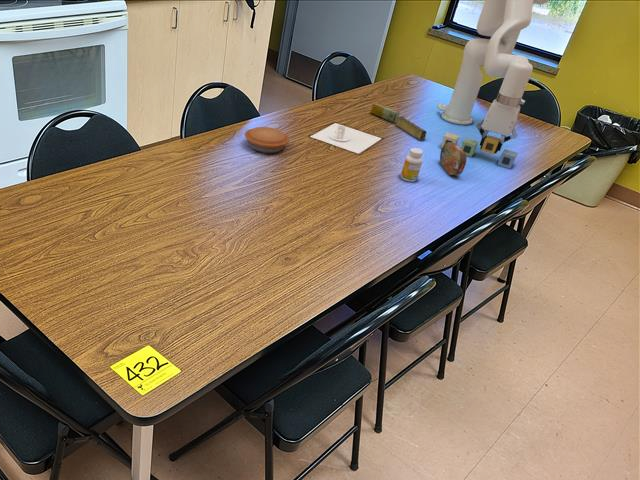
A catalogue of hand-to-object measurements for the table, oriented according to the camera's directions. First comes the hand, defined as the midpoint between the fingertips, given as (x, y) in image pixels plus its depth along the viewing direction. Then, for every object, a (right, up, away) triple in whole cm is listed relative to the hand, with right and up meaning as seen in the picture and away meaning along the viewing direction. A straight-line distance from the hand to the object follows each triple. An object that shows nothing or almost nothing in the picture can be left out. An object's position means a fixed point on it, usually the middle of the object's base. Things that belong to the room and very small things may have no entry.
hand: (488, 149), depth 205 cm
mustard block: (0, 0, 0) cm, 0 cm away
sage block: (-6, 0, +5) cm, 8 cm away
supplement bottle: (-34, -14, -17) cm, 41 cm away
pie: (-81, -1, -8) cm, 82 cm away
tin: (-18, -10, -9) cm, 22 cm away
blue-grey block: (+6, -6, -1) cm, 8 cm away
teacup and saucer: (-51, +6, +6) cm, 51 cm away
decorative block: (-24, +11, +16) cm, 31 cm away
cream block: (-12, +3, +7) cm, 14 cm away
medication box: (-32, +20, +26) cm, 45 cm away
